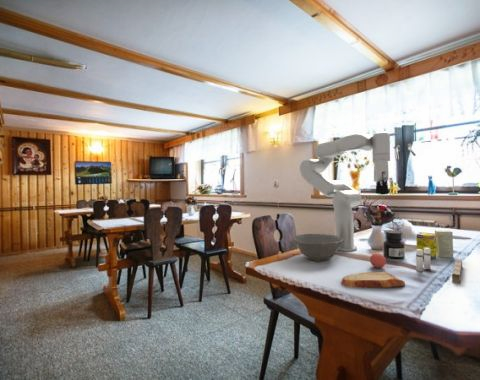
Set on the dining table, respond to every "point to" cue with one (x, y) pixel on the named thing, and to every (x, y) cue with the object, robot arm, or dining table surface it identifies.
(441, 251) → the skincare box
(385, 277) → the slice of bread
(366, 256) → the dining table surface
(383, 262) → the ball
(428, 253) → the pin
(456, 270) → the back rail
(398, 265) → the dining table surface
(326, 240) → the ceramic bowl
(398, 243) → the ink bottle
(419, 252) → the pin
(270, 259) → the dining table surface
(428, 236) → the supplement box
